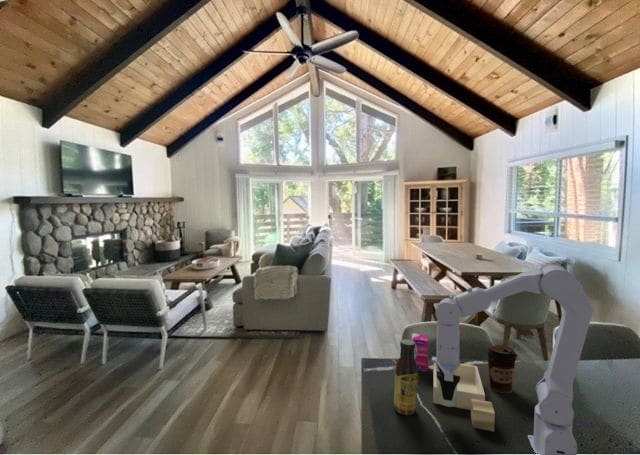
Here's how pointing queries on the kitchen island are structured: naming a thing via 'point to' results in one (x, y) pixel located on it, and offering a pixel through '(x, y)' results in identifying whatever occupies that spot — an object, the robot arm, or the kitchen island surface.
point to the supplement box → (421, 351)
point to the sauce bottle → (406, 380)
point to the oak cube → (482, 414)
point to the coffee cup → (501, 368)
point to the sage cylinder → (446, 402)
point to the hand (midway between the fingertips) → (447, 393)
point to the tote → (463, 385)
